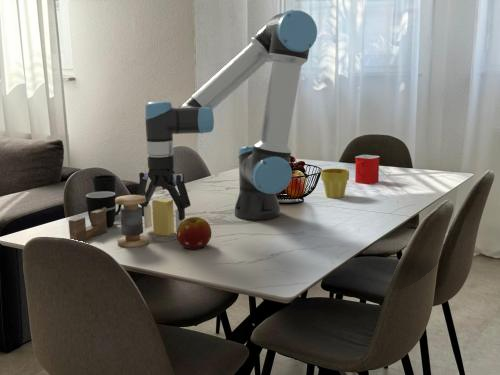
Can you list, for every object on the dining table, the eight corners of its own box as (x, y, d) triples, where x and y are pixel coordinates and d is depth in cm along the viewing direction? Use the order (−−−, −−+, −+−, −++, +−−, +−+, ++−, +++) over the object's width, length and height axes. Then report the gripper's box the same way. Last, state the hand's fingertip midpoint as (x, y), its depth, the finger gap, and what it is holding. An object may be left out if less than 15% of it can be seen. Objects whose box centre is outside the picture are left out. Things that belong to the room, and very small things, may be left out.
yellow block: (174, 232, 181) (172, 199, 179) (168, 235, 178) (166, 202, 176) (159, 230, 183) (158, 198, 181) (153, 233, 180) (152, 201, 178)
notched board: (107, 232, 182) (105, 209, 181) (77, 245, 170) (75, 220, 168) (100, 231, 183) (99, 208, 182) (70, 244, 170) (68, 220, 169)
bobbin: (153, 240, 173) (151, 196, 170) (137, 248, 165) (134, 202, 163) (128, 237, 176) (126, 194, 173) (111, 245, 168) (108, 200, 166)
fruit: (182, 253, 161) (181, 224, 159) (172, 244, 169) (171, 217, 167) (216, 248, 164) (215, 220, 163) (205, 240, 172) (204, 213, 171)
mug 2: (362, 179, 257) (363, 154, 255) (380, 181, 252) (381, 156, 250) (348, 183, 248) (348, 158, 246) (366, 186, 243) (367, 160, 241)
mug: (100, 231, 183) (98, 198, 181) (82, 226, 189) (79, 195, 187) (130, 222, 192) (129, 191, 190) (112, 218, 198) (110, 188, 196)
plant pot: (317, 198, 223) (317, 172, 221) (324, 192, 232) (325, 167, 230) (345, 200, 219) (345, 173, 217) (351, 194, 228) (352, 169, 226)
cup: (111, 214, 204) (109, 179, 201) (91, 213, 205) (88, 178, 203) (121, 208, 211) (119, 175, 209) (100, 208, 213) (98, 174, 210)
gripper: (201, 154, 175) (203, 229, 179) (134, 151, 183) (138, 222, 188) (188, 158, 168) (191, 235, 172) (120, 155, 176) (124, 228, 181)
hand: (163, 228), depth 180 cm, fingers open, 10 cm apart
